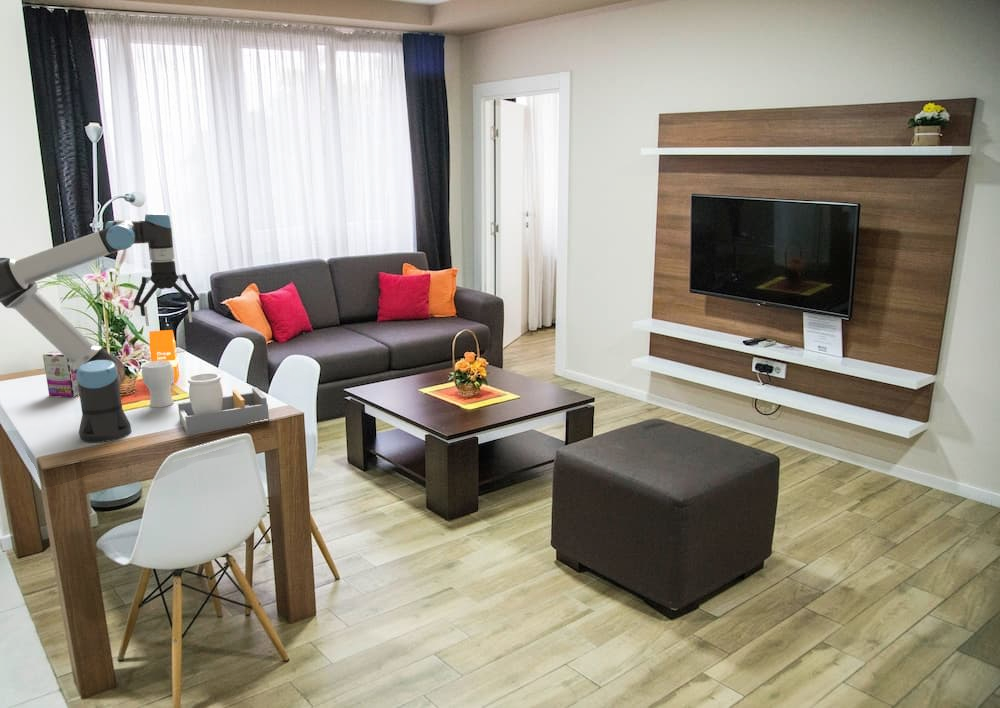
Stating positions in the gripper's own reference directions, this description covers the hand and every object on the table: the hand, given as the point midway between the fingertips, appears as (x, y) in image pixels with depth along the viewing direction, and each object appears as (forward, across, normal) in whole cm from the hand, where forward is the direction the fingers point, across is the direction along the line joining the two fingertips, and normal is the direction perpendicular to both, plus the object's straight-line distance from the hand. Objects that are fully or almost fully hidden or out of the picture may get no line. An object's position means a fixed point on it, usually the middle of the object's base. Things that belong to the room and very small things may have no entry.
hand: (169, 323), depth 274 cm
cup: (+32, -5, +16) cm, 36 cm away
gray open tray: (+32, +13, -14) cm, 38 cm away
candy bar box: (+33, -36, +45) cm, 66 cm away
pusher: (+31, +20, -14) cm, 39 cm away
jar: (+31, +8, -15) cm, 35 cm away
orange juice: (+32, -1, +50) cm, 59 cm away
